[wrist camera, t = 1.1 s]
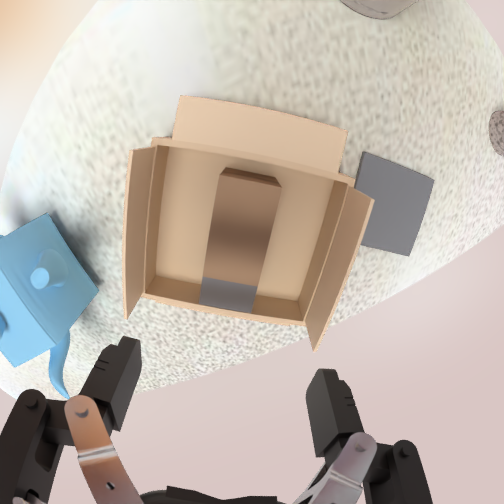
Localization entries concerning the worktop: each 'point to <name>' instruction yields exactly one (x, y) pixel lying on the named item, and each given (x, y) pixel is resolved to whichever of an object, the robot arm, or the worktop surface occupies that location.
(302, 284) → the carton
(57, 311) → the teakettle
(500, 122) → the mug
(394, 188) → the mat
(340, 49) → the worktop surface
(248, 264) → the bar
